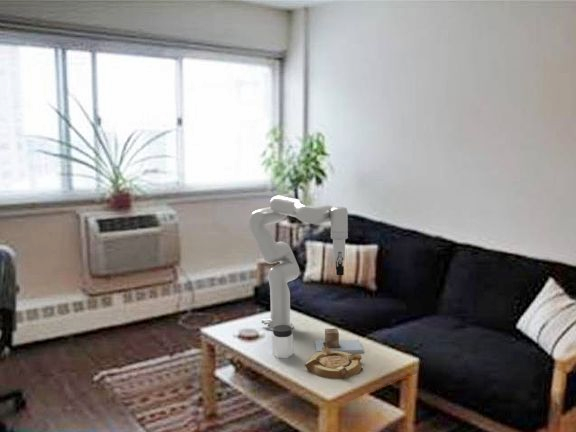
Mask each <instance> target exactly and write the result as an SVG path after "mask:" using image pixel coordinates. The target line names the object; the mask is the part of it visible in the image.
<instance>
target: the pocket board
mask: <svg viewBox="0 0 576 432" xmlns="http://www.w3.org/2000/svg"><path fill="white" fill-rule="evenodd" d="M314 345H315V350H316V353H318V352H322V347H324V346H325V339H321V340H320V339H319V340H314ZM328 349H329V350H330V351H342V352H346V353H349V354H363V353H364V349H363V346H362V344H361V342H360V340H359V338H357V339H339V348H328Z"/></svg>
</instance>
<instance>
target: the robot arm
mask: <svg viewBox="0 0 576 432" xmlns="http://www.w3.org/2000/svg"><path fill="white" fill-rule="evenodd" d="M287 216H290V217H293V218H296V219H297V220H299V222H303V223H308V224H311V225H321V224H324V223H325V224H326V223H329V222H330V239H331V240H332V259H333V262H335V269H336V270H335V271H336V273H335V275H336V276H345V268H344V261H345V257H346V240H347V239H348V238H349V237H348V235H349V233H348V232H349V228H348V226H349V224H348V223H349V222H348V217H349V215H348V208H346V207H344V206H334V205H329V204H326V205H321V206H316V207H314V206H309V205H305V203H304V201H303V200H302V199H300V198H296V197H295V196H294V195H292V194H291V193H284V194H278V195H275V196H273V197H272V198H271V199H270V200H269V207H263V208H259V209H257V210H254V211H253V212H251V214H250V216H249V219H248V228H249V229H250V232H251V234H252V236H253V238H254V240H255V242H256V244H257V247H258V248H259V251H260V254H261V256H262V259H263V260H264V262H265V263H266V264H270V265H271V264H276V265H273V266H272V267H271V268H270V269H269V271H268V272H267V273H268V274H267V277H268V284H269V291H270V292H269V295H270V297H269V298H270V300H269V301H270V316H269V318H268V319H265V318H264V319H262V318H261V324H263V325H267V329H268V330H269V331H272V332H273V328H274V327H275V326H278V325H288V326H290V327H291V328H292V329H294V324H293V322H291V292H290V288H289V286H288V283H289V282H292V281H294V280H296V279H297V278H298V277H299V275H300V267H299V264H298V262H297V259H296V257H295V255H294V252H293V250H292V249H291V246H290V245H289V244H288V243H286V242H285V241H276V240H275V238H274V236H273V234H272V232H271V231H270V230H269V228H268V227H266V226H270V225H275V224H277V223H279V222H281V221H282V220H284V219H286V217H287ZM277 263H279V264H277Z"/></svg>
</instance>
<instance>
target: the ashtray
mask: <svg viewBox="0 0 576 432" xmlns="http://www.w3.org/2000/svg"><path fill="white" fill-rule="evenodd" d="M362 358H363V357H362V355H361V354H359V353H346V352H342V351H330V350H329V349H328V347H325V346H324V347H322V352H318V353H317V352H316V353H314V354H313V355H312V356H311V357H310V358H309V359H308V361H307V362H305V363H304V367H305V368H306V371H307V372H308V373H312V374H314V375H316V376H318V377H321V378H325V379H331V380H336V379H337V380H341V379H348V378H351V377H354V376H357V375H358V374H359V373H360V372H361V370H363V367H362V363H361V360H362Z"/></svg>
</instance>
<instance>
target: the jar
mask: <svg viewBox="0 0 576 432" xmlns="http://www.w3.org/2000/svg"><path fill="white" fill-rule="evenodd" d="M271 342H272V345H271V349H272V355H273V356H274V357H275V358H277V359H288V358H290V356H292V355H294V334H293V328H291V327H290V326H288V325H278V326H275V327H274V328H273V331H272V334H271Z"/></svg>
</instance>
